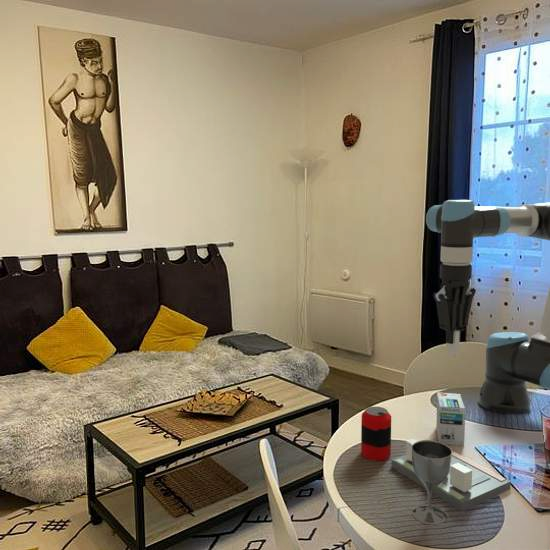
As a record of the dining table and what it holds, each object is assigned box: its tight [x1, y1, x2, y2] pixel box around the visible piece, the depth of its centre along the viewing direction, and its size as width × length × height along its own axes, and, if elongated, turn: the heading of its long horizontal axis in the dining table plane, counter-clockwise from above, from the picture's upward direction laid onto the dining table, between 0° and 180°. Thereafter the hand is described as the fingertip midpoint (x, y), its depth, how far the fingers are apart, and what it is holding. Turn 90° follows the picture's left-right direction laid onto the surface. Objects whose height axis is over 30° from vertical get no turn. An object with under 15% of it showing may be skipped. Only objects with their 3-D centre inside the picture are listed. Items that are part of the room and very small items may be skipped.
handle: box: [405, 438, 419, 461], centre depth 135 cm, size 2×4×4 cm, turn 31°
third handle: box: [450, 463, 472, 492], centre depth 123 cm, size 2×4×4 cm, turn 31°
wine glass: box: [411, 439, 453, 526], centre depth 116 cm, size 8×8×15 cm
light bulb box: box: [435, 391, 467, 446], centre depth 152 cm, size 11×7×11 cm, turn 168°
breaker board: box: [391, 450, 511, 512], centre depth 131 cm, size 16×22×2 cm
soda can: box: [360, 406, 392, 462], centre depth 142 cm, size 8×8×12 cm
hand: (452, 354), depth 140 cm, fingers closed
